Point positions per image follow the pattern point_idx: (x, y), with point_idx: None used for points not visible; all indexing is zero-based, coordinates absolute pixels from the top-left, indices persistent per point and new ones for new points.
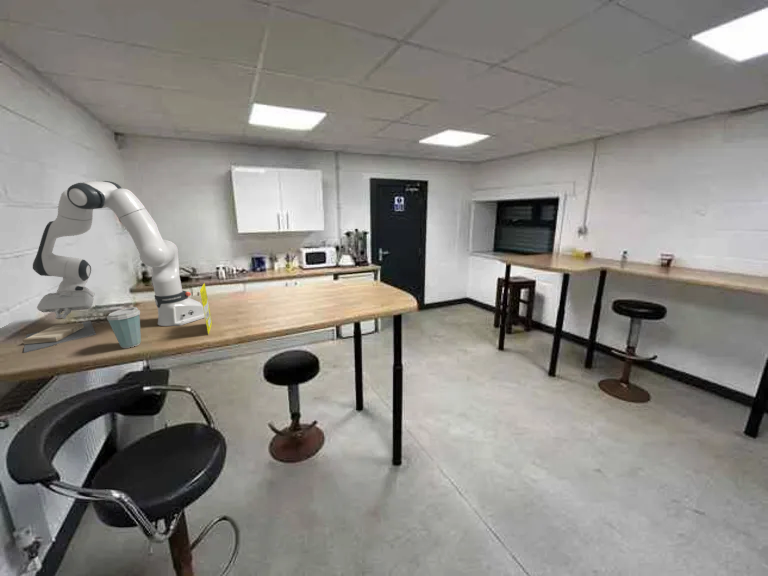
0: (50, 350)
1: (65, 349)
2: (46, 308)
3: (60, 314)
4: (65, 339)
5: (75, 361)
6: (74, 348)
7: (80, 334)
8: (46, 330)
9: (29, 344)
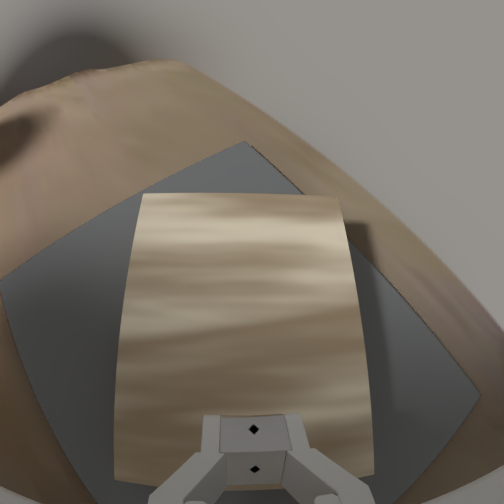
0: (135, 148)
1: (79, 150)
2: (502, 467)
3: (248, 449)
4: (122, 245)
5: (37, 93)
6: (52, 154)
7: (73, 314)
8: (335, 357)
9: None
